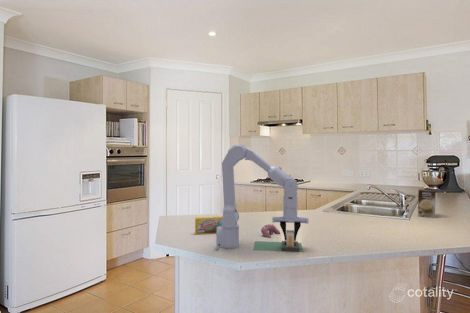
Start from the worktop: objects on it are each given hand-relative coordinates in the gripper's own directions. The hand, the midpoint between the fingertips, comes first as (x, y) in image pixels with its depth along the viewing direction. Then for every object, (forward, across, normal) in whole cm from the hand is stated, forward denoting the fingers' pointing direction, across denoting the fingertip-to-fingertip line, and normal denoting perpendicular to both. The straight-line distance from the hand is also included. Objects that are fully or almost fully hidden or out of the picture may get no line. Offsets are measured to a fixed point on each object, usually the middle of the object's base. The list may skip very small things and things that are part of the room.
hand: (290, 240), depth 127 cm
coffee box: (+4, +85, +76) cm, 114 cm away
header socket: (+4, 0, 0) cm, 4 cm away
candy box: (+5, -38, +21) cm, 44 cm away
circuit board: (+4, -5, +2) cm, 7 cm away
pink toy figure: (+5, -9, +18) cm, 21 cm away
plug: (+3, 0, 0) cm, 3 cm away
